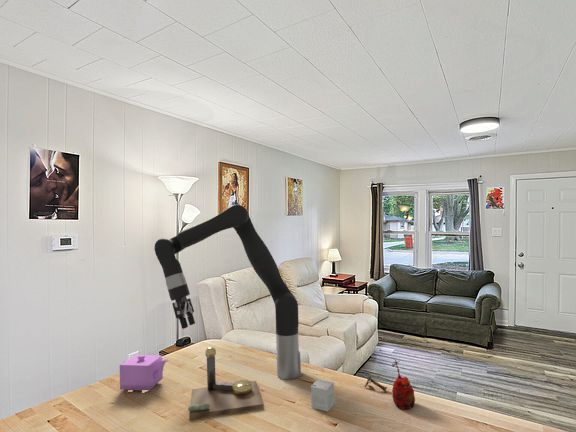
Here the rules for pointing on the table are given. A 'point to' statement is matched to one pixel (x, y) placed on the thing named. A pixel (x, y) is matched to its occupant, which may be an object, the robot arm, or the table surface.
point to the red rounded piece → (403, 392)
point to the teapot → (141, 372)
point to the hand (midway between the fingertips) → (189, 326)
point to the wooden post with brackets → (374, 384)
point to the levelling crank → (237, 387)
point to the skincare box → (322, 395)
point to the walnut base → (222, 402)
